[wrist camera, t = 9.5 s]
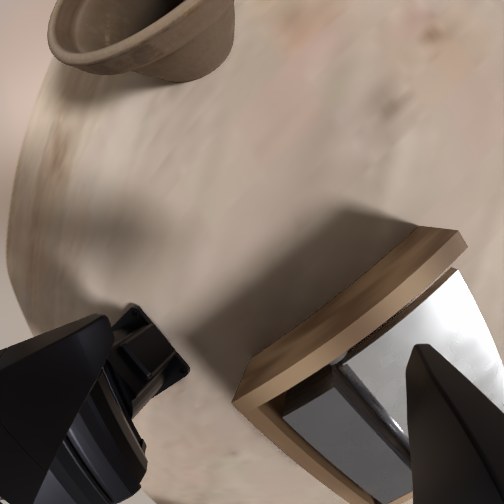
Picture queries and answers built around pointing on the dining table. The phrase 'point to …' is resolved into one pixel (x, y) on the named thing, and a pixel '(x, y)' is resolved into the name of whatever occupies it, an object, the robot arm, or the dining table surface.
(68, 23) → the flower pot
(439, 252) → the trap frame
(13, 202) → the dining table surface
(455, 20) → the dining table surface
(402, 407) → the trapdoor
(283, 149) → the dining table surface
